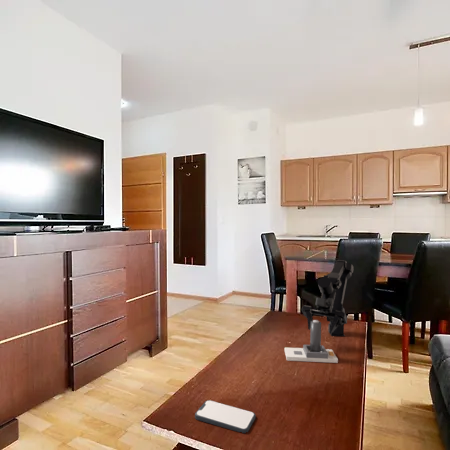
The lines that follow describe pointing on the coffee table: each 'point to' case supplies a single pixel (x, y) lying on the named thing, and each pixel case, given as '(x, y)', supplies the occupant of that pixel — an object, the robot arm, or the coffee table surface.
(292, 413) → the coffee table surface
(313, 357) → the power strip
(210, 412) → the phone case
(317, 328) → the joystick
